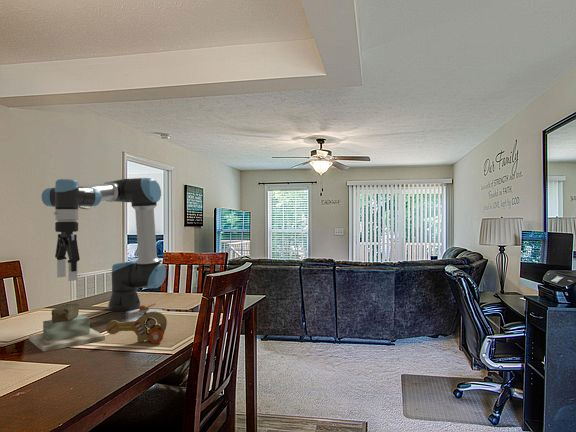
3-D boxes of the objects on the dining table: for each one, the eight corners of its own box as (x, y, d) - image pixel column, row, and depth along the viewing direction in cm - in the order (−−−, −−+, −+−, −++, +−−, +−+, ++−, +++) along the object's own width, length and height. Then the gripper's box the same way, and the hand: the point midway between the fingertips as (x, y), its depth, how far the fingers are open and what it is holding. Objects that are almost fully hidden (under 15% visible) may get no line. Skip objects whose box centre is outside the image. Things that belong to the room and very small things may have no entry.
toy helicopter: (165, 343, 147) (165, 304, 147) (103, 347, 142) (103, 307, 143) (167, 337, 155) (167, 300, 155) (108, 340, 151) (108, 303, 151)
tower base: (86, 329, 166) (86, 310, 166) (104, 339, 152) (104, 319, 152) (28, 339, 152) (28, 319, 152) (43, 351, 138) (43, 329, 138)
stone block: (80, 315, 158) (79, 302, 158) (67, 323, 146) (67, 309, 146) (63, 316, 157) (63, 303, 157) (50, 323, 146) (50, 309, 146)
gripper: (46, 221, 159) (46, 276, 159) (66, 221, 141) (66, 283, 141) (67, 221, 164) (67, 274, 164) (89, 221, 146) (89, 280, 146)
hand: (67, 278), depth 152 cm, fingers open, 13 cm apart
